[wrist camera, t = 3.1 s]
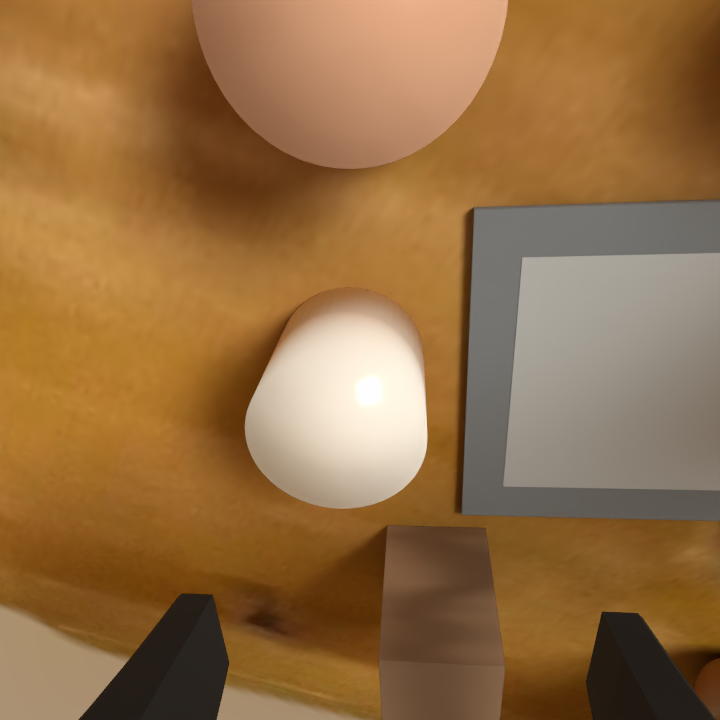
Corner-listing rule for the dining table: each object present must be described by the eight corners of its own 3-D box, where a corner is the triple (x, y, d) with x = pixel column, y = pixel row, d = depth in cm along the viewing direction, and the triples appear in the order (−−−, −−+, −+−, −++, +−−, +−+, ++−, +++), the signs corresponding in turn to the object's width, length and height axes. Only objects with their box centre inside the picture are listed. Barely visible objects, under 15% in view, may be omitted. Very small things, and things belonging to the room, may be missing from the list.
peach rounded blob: (486, -136, 13) (520, -234, 9) (477, 135, 16) (499, 162, 12) (240, -111, 14) (158, -192, 10) (271, 146, 17) (219, 175, 12)
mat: (910, 193, 16) (918, 195, 15) (782, 516, 21) (787, 523, 21) (473, 207, 17) (474, 209, 17) (461, 509, 23) (461, 515, 22)
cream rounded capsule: (422, 284, 18) (426, 355, 14) (424, 413, 21) (427, 509, 16) (272, 289, 19) (230, 360, 14) (290, 414, 21) (258, 507, 17)
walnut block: (485, 527, 23) (505, 666, 18) (480, 595, 25) (497, 739, 20) (387, 525, 23) (378, 660, 18) (390, 591, 25) (382, 731, 20)
